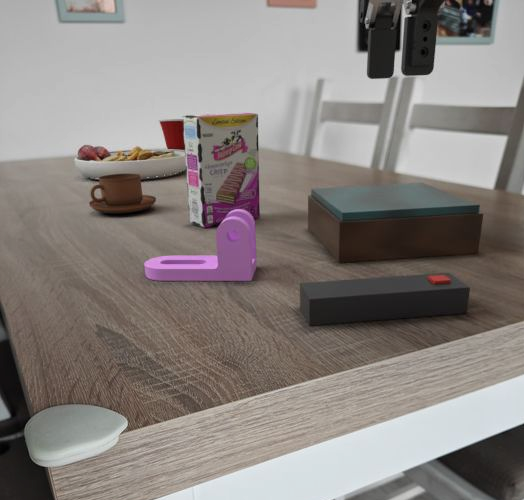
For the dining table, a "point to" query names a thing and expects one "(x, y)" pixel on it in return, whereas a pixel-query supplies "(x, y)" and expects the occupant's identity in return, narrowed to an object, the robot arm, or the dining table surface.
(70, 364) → the dining table surface
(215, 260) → the bracket
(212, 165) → the candy bar box
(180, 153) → the bowl
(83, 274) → the dining table surface
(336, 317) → the remote
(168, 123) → the plastic cup
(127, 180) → the cup and saucer
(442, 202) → the footstool
